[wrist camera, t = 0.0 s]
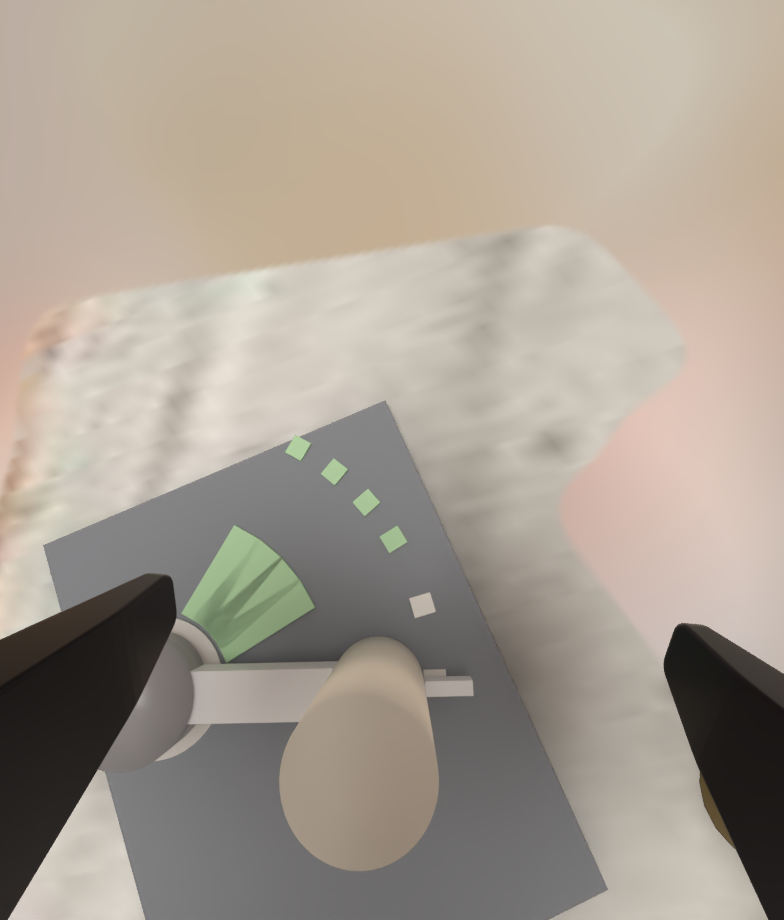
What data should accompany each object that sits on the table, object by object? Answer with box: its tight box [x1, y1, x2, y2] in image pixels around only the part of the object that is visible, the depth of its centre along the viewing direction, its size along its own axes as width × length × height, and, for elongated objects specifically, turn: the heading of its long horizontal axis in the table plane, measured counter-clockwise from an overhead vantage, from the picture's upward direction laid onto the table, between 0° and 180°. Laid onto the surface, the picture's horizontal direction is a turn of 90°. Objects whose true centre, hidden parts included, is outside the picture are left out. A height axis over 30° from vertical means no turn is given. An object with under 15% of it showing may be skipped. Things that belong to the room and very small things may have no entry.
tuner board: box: [43, 401, 608, 920], centre depth 22 cm, size 23×18×1 cm
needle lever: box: [98, 632, 474, 871], centre depth 16 cm, size 16×5×9 cm, turn 92°
